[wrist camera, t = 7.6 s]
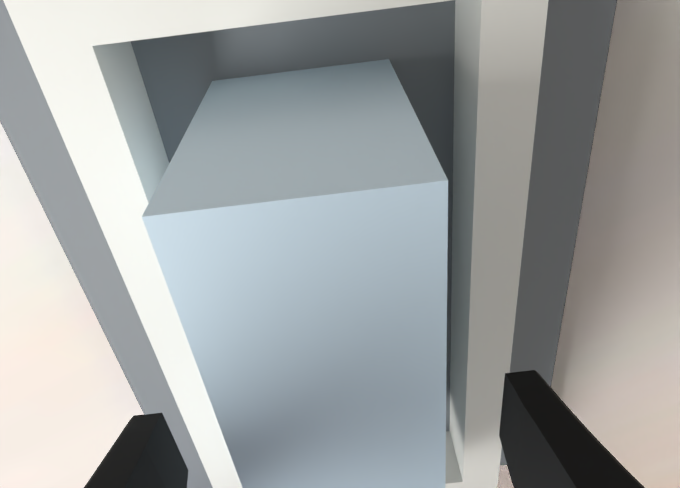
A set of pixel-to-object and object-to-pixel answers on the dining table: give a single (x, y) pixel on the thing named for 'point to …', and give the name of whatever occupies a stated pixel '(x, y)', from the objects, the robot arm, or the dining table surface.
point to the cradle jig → (298, 54)
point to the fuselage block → (313, 276)
